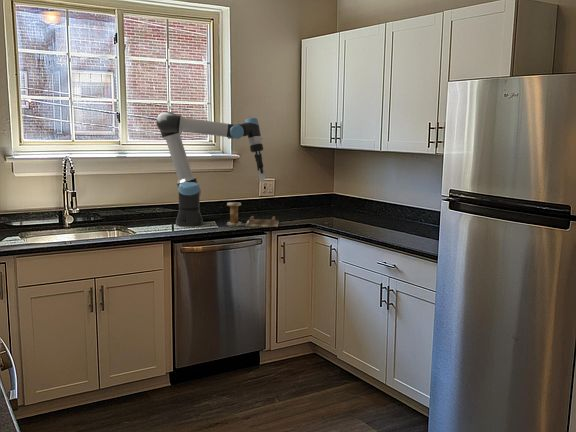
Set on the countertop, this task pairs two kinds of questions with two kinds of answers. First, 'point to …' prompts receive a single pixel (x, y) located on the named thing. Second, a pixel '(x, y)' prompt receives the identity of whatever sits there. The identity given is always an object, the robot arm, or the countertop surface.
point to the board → (262, 222)
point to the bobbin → (233, 214)
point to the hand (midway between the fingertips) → (262, 180)
